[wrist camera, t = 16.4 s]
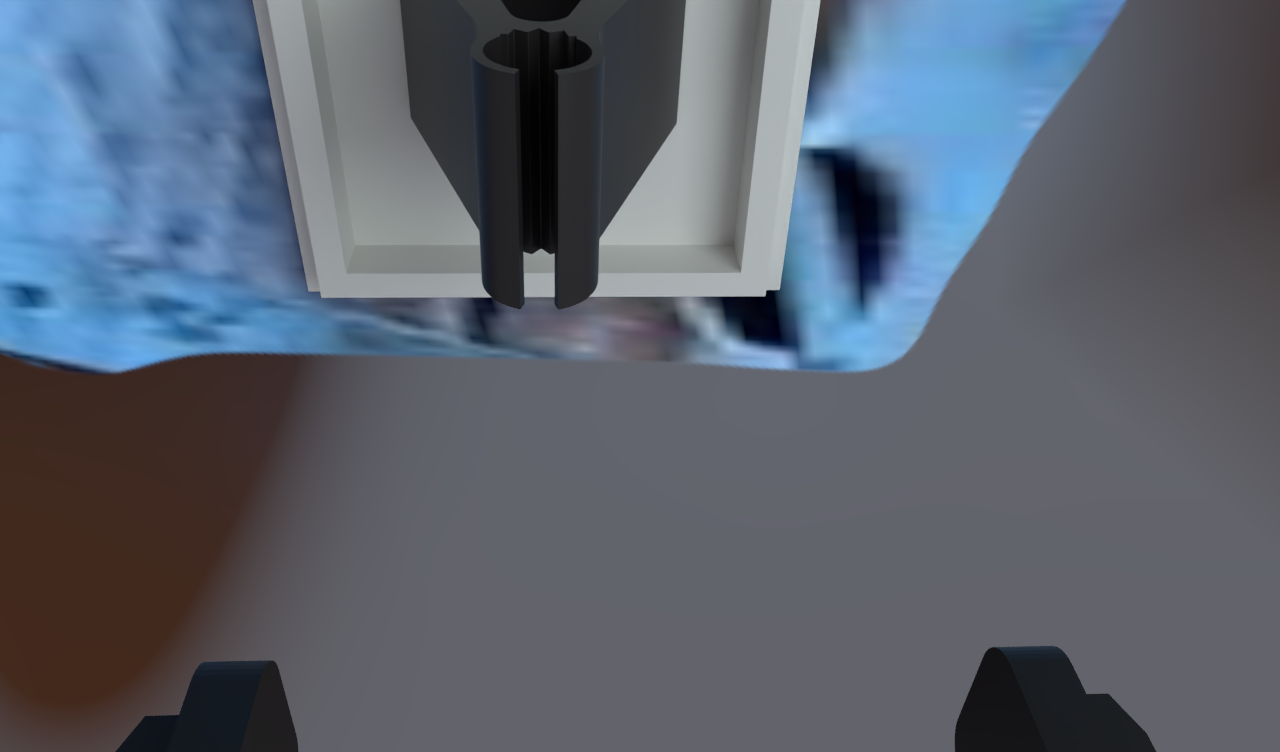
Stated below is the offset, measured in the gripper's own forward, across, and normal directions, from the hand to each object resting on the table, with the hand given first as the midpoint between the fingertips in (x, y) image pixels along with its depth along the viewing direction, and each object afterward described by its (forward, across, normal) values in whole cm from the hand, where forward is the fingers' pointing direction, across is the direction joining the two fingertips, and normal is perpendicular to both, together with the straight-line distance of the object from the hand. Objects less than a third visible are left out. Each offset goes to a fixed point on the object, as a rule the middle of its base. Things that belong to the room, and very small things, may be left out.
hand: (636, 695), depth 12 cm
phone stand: (+26, +1, +1) cm, 26 cm away
